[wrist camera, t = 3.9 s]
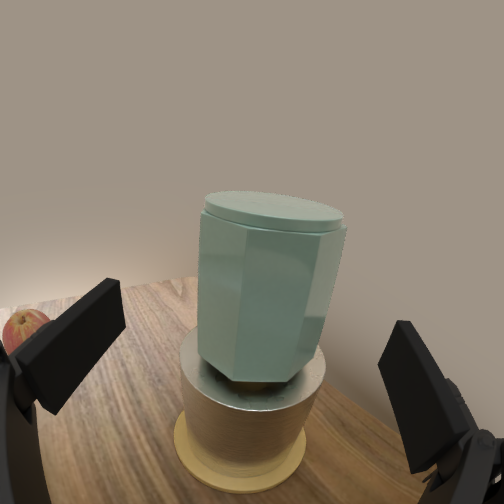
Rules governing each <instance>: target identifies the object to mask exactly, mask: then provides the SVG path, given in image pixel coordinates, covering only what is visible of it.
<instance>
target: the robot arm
mask: <svg viewBox="0 0 504 504" xmlns="http://www.w3.org/2000/svg"><path fill="white" fill-rule="evenodd" d="M125 328H126V324H125V318H124V312H123V305H122V297H121V289H120V281H119V280H115V279H111V278H106V279H105V280H103V281H102V282H101V283H100V284H98V285H97V286H96V287H95V288H93V289H92V290H91V291H89V292H88V293H87V294H86V295H84V296H83V297H82V298H81V299H79V300H78V301H77V302H76V303H75V304H73V305H72V306H71V307H70V308H69V309H67V310H66V311H65V312H64V313H63V314H61V315H60V316H59V317H58V318H57V319H56V320H52V321H49V322H47V323H45V324H43V325H42V326H41V327H40V328H39V329H37V330H36V332H34V333H33V334H32V335H31V336H30V338H29V337H28V338H27V339H26V340H25V341H24V342H23V343H22V344H21V345H19V346H18V347H17V348H16V349H15V350H14V351H13V352H12V353H11V354H10V355H7V353H6V351H5V348H4V346H3V344H2V342H1V340H0V504H51V500H50V497H49V493H48V489H47V485H46V480H45V476H44V471H43V466H42V460H41V454H40V447H39V439H38V429H37V417H36V407H35V404H34V401H35V400H36V399H38V401H39V403H40V404H41V406H42V407H43V408H44V409H46V410H47V411H49V412H50V413H52V414H53V415H55V416H56V415H57V413H58V412H59V411H60V409H61V408H62V407H63V405H64V404H65V403H66V401H67V400H68V399H69V397H70V396H71V395H72V393H73V392H74V391H75V389H76V388H77V387H78V386H79V384H80V383H81V382H82V380H83V379H84V378H85V377H86V375H87V374H88V373H89V372H90V370H91V369H92V368H93V367H94V365H95V364H96V363H97V362H98V360H99V359H100V358H101V357H102V355H103V354H104V353H105V352H106V350H107V349H108V348H109V347H110V346H111V344H112V343H113V342H114V341H115V340H116V338H117V337H118V336H119V335H120V334H121V332H122V331H123V330H124V329H125ZM378 367H379V370H380V372H381V375H382V378H383V381H384V384H385V387H386V390H387V393H388V396H389V399H390V401H391V405H392V408H393V411H394V414H395V417H396V421H397V424H398V427H399V431H400V434H401V437H402V441H403V445H404V448H405V452H406V456H407V460H408V463H409V467H410V472H411V474H415V473H419V472H423V471H427V470H428V469H429V468H430V467H432V466H433V465H434V464H435V463H436V464H437V467H438V468H437V469H436V470H435V471H433V472H432V473H431V474H430V475H428V476H427V477H426V478H425V479H424V480H423V481H422V482H423V483H425V482H426V481H427V480H429V479H430V478H431V479H430V481H429V483H427V487H426V489H425V491H424V493H423V495H422V497H421V498H420V500H419V502H418V504H504V438H502V439H500V438H497V439H496V438H495V437H494V436H493V434H492V433H491V432H489V431H488V430H484V429H481V430H479V429H478V427H477V425H476V423H475V420H474V418H473V416H472V414H471V412H470V410H469V409H468V407H467V405H466V404H465V401H464V399H463V397H461V393H460V392H459V390H458V388H457V386H456V385H455V384H454V383H453V382H452V381H451V380H450V379H449V378H447V379H445V378H444V376H443V374H442V372H441V371H440V369H439V367H438V365H437V364H436V362H435V360H434V359H433V357H432V355H431V354H430V352H429V350H428V348H427V347H426V345H425V344H424V342H423V341H422V339H421V337H420V336H419V334H418V332H417V331H416V329H415V328H414V326H413V325H412V323H411V322H410V321H402V320H397V322H396V324H395V326H394V329H393V331H392V334H391V336H390V339H389V341H388V343H387V345H386V347H385V350H384V352H383V354H382V356H381V358H380V360H379V362H378ZM500 474H501V480H500V481H498V482H497V483H495V478H496V477H497V476H499V475H500Z"/></svg>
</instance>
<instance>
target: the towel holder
mask: <svg viewBox="0 0 504 504" xmlns="http://www.w3.org/2000/svg"><path fill="white" fill-rule="evenodd" d="M179 361H180V373H181V384H182V394H183V403H184V410H183V411H182V412H181V414H180V416H179V417H178V419H177V422H176V424H175V428H174V444H175V448H176V452H177V455H178V457H179V459H180V461H181V463H182V464H183V466H184V467H185V469H186V470H187V471H188V472H189V473H190V474H191V475H192V476H193V477H195V478H196V479H197V480H198V481H200V482H202V483H203V484H205V485H207V486H209V487H211V488H214V489H217V490H220V491H223V492H228V493H236V494H249V493H257V492H262V491H265V490H268V489H271V488H273V487H275V486H277V485H279V484H281V483H282V482H284V481H285V480H286V479H288V478H289V477H290V476H291V475H292V474H293V473H294V471H295V470H296V469H297V467H298V466H299V464H300V462H301V461H302V459H303V456H304V454H305V449H306V435H305V431H304V428H303V425H304V423H305V421H306V419H307V416H308V414H309V412H310V410H311V408H312V405H313V403H314V401H315V398H316V396H317V394H318V391H319V389H320V386H321V384H322V381H323V379H324V375H325V370H326V363H325V358H324V355H323V353H322V350H321V349H320V347H319V346H318V345H317V348H316V352H315V355H314V358H313V359H311V360H310V361H309V362H308V363H307V364H306V365H305V366H304V367H303V368H302V369H301V370H300V371H298V372H297V373H296V374H295V375H294V376H293V377H292V378H291V379H289V380H288V381H287V382H245V381H232V380H231V379H229V378H228V377H227V376H225V375H224V374H223V373H222V372H220V371H219V370H218V369H216V368H215V367H214V366H213V365H211V364H210V363H209V362H208V361H206V360H205V359H204V358H203V357H201V356H200V355H199V354H198V349H197V326H196V327H195V328H193V329H192V330H191V331H190V332H189V333H188V334H187V335H186V337H185V338H184V340H183V342H182V344H181V347H180V352H179Z"/></svg>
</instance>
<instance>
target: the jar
mask: <svg viewBox="0 0 504 504" xmlns="http://www.w3.org/2000/svg"><path fill="white" fill-rule="evenodd" d="M343 217H344V216H343V214H342V212H340V211H339V210H337V209H335V208H333V207H331V206H328V205H325V204H322V203H319V202H315V201H311V200H307V199H303V198H297V197H293V196H287V195H280V194H272V193H264V192H250V191H224V192H216V193H212V194H208V195H206V196H205V199H204V209H203V211H202V212H201V219H200V238H199V239H200V240H199V264H198V305H197V349H198V354H199V355H200V356H201V357H203V358H204V359H205V360H206V361H208V362H209V363H210V364H211V365H213V366H214V367H215V368H216V369H218V370H219V371H220V372H222V373H223V374H224V375H225V376H227V377H228V378H229V379H231V380H232V381H245V382H287V381H288V380H289V379H291V378H292V377H293V376H294V375H295V374H296V373H297V372H298V371H300V370H301V369H302V368H303V367H304V366H305V365H306V364H307V363H308V362H309V361H310V360H311V359H313V358H314V355H315V352H316V348H317V345H318V342H319V339H320V335H321V332H322V329H323V325H324V322H325V318H326V315H327V311H328V307H329V304H330V300H331V296H332V292H333V288H334V284H335V280H336V276H337V272H338V268H339V264H340V259H341V254H342V250H343V245H344V241H345V236H346V231H347V227H346V226H345V225H343V224H342V223H343Z"/></svg>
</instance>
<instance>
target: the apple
mask: <svg viewBox="0 0 504 504" xmlns="http://www.w3.org/2000/svg"><path fill="white" fill-rule="evenodd" d="M49 321H50V319H49V318H48V317H47V316H46V315H45V314H44V313H42V312H40V311H38V310H34V309H27V310H21V311H18V312H16V313H15V314H14V315H13V316H12V317H10V319H9V320H8V321H7V323H6V324H5V326H4V329H3V344H4V347H5V350H6V352H7V354H8V355H10V354H11V353H12V352H13V351H14V350H15V349H16V348H17V347H18V346H19V345H21V344H22V343H23V342H24V341H25V340H26V339H27V338H28V337H29V338H30V336H31V335H32V334H33V333H34V332H36V330H37V329H39V328H40V327H41V326H42V325H43V324H45V323H47V322H49Z"/></svg>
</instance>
